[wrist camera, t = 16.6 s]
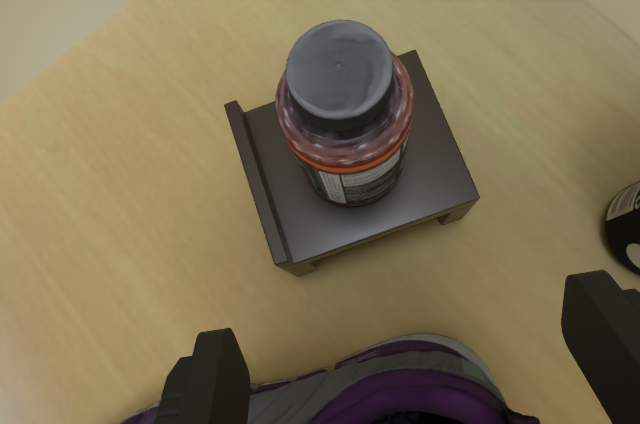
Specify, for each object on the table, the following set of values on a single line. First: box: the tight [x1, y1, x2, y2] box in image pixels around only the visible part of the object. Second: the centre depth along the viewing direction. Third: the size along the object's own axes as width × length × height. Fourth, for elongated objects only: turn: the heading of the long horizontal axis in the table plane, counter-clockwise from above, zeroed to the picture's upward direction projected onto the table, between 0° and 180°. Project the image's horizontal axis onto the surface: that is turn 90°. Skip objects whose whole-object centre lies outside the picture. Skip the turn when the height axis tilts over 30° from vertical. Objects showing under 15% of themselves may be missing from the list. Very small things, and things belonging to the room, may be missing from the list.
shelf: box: [224, 50, 480, 277], centre depth 31 cm, size 12×10×8 cm
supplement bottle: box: [275, 20, 414, 206], centre depth 23 cm, size 6×6×11 cm
